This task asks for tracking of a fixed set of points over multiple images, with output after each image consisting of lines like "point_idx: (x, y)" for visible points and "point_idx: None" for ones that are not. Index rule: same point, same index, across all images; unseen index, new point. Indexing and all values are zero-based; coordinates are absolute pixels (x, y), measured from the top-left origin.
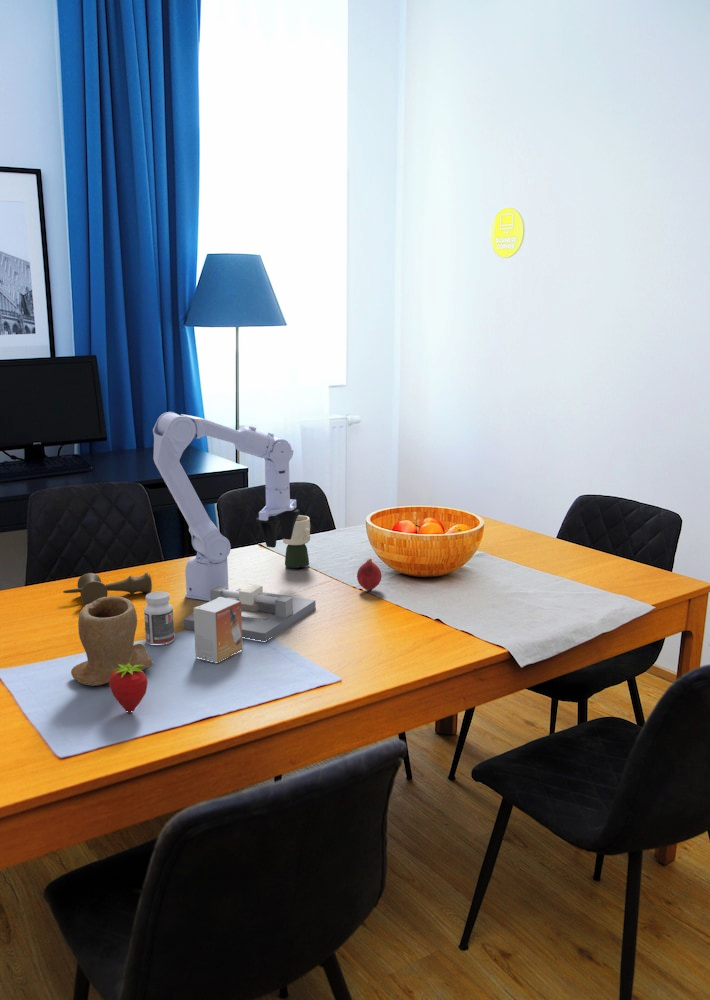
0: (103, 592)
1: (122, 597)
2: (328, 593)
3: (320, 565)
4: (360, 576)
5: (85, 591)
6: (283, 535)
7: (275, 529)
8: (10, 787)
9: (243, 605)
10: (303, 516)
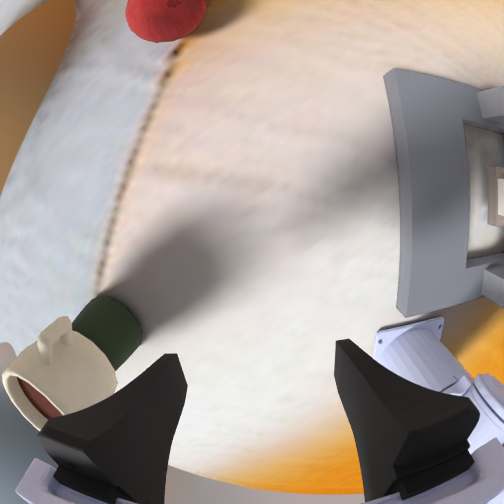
0: None
1: None
2: (256, 100)
3: (72, 277)
4: (201, 4)
5: None
6: (181, 393)
7: (411, 390)
8: None
9: None
10: (12, 396)
